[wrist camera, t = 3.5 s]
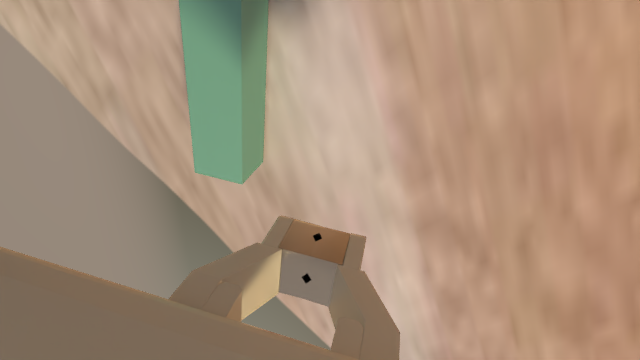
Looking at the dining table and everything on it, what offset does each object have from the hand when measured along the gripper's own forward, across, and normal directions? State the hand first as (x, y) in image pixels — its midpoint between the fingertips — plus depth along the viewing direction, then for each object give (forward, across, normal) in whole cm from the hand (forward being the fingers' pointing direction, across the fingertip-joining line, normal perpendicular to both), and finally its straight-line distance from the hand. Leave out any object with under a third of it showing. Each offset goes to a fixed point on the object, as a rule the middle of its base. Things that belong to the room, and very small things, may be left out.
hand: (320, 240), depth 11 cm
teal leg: (+8, +7, -5) cm, 11 cm away
